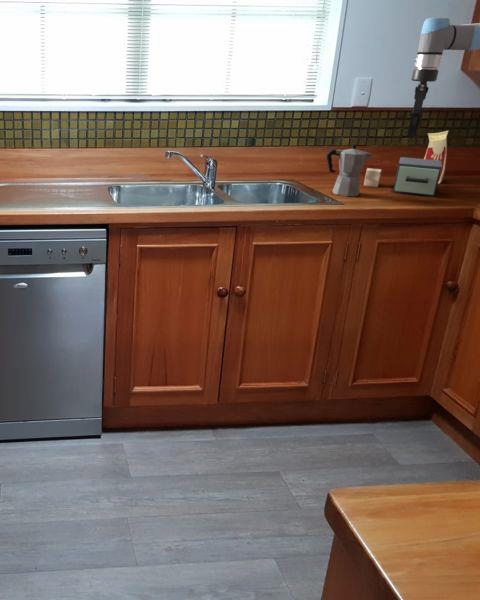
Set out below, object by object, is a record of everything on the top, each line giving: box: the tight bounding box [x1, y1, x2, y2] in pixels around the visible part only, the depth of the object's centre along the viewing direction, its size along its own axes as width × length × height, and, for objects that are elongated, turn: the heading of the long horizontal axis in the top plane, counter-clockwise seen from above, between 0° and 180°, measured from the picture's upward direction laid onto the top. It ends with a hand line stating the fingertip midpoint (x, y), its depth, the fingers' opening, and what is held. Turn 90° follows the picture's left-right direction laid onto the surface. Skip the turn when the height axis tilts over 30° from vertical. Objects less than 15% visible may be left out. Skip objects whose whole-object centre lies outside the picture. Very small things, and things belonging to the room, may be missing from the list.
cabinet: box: [392, 156, 442, 198], centre depth 227 cm, size 16×14×11 cm
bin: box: [395, 166, 439, 195], centre depth 223 cm, size 21×13×9 cm, turn 152°
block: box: [363, 167, 382, 188], centre depth 236 cm, size 5×5×6 cm
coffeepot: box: [325, 143, 374, 197], centre depth 219 cm, size 15×9×18 cm, turn 76°
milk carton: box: [423, 130, 449, 184], centre depth 243 cm, size 9×9×20 cm
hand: (411, 133), depth 212 cm, fingers open, 13 cm apart
